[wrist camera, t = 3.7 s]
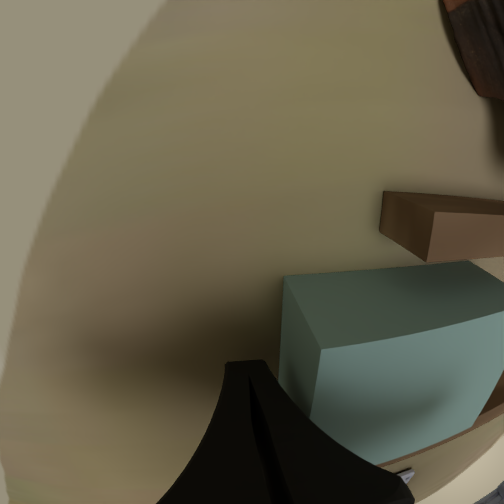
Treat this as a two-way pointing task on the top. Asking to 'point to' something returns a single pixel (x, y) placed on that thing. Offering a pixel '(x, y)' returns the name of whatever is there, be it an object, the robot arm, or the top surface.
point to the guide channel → (447, 251)
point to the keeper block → (392, 353)
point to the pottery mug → (480, 42)
